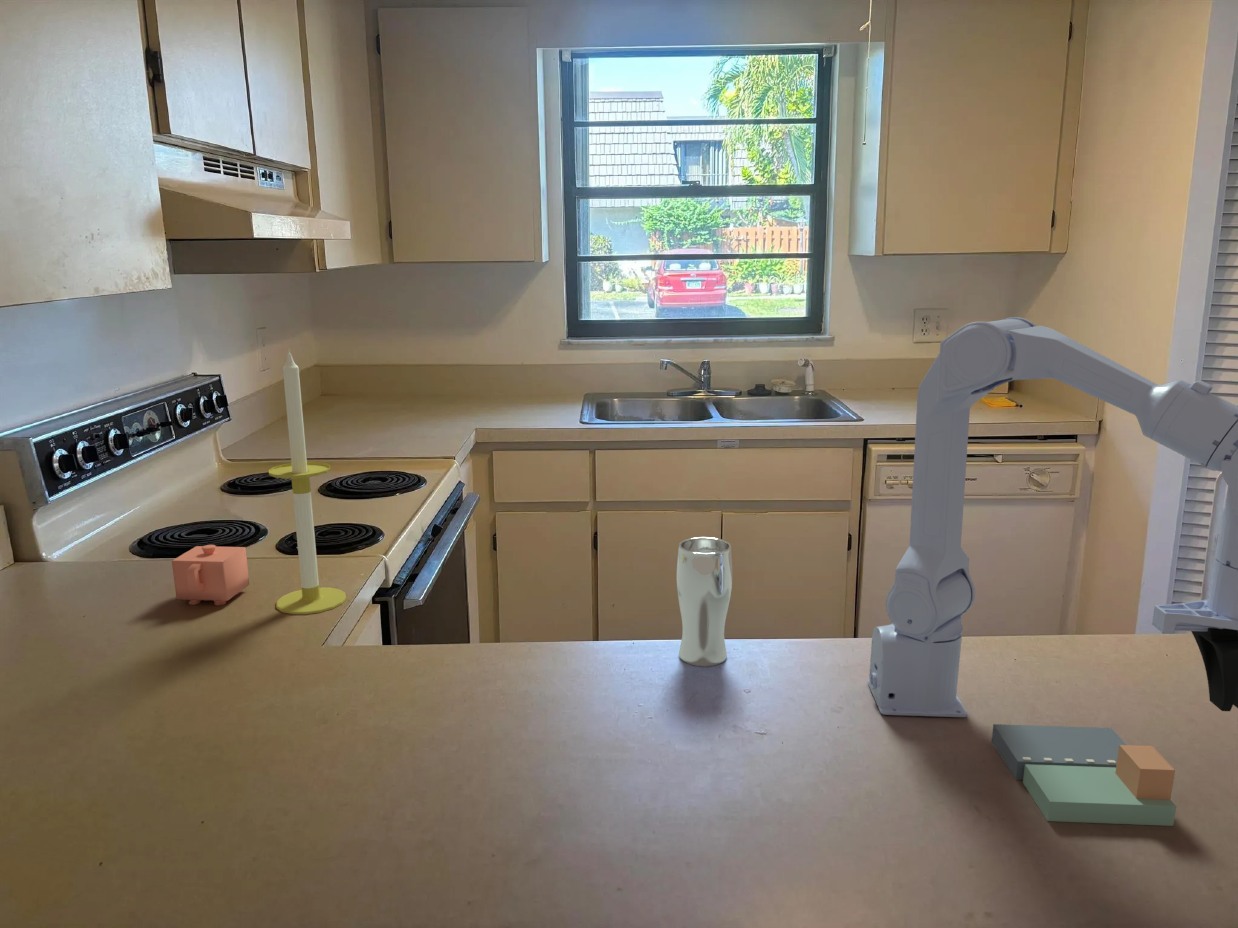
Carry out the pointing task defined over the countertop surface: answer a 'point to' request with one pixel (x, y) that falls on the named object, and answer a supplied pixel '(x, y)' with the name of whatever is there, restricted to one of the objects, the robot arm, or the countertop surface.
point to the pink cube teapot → (210, 574)
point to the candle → (303, 507)
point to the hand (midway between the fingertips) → (1229, 706)
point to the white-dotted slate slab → (1055, 746)
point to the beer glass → (704, 598)
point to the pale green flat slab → (1106, 790)
